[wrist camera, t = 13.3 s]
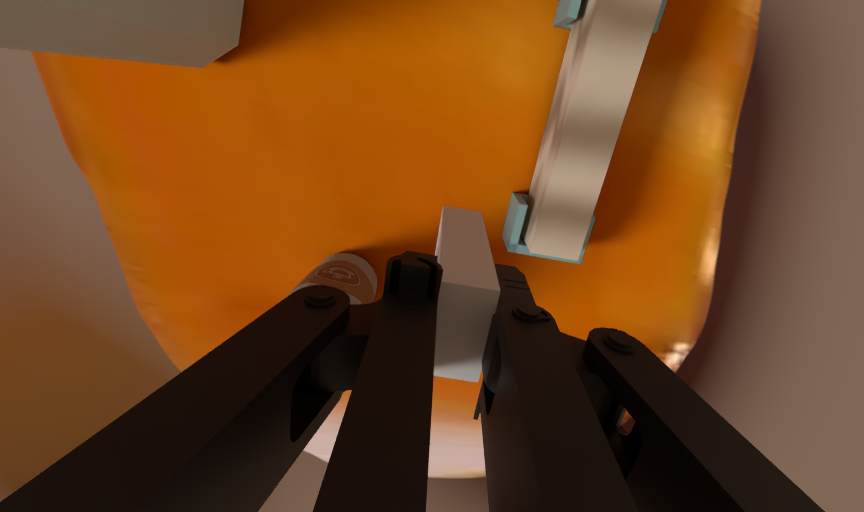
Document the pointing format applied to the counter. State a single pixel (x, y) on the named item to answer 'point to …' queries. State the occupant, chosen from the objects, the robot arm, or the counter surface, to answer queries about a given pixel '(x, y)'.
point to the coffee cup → (345, 277)
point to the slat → (585, 121)
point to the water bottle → (124, 29)
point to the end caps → (518, 206)
